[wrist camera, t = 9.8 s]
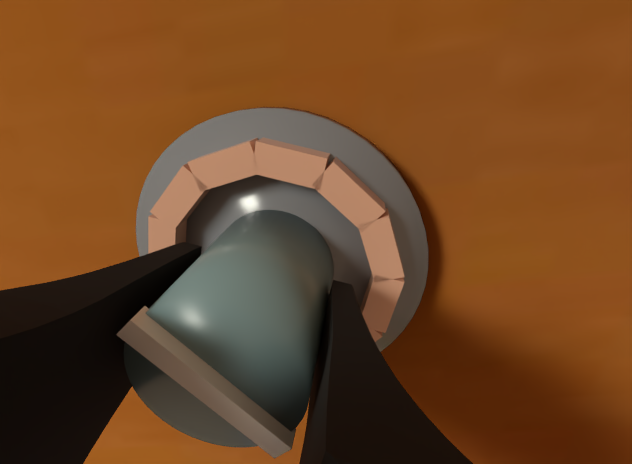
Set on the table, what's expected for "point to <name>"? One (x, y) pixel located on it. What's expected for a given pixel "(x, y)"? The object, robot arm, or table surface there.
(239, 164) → the socket
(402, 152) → the table surface
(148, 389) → the cylinder with tan strip
